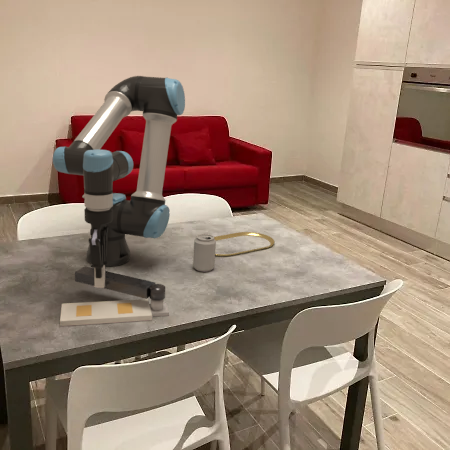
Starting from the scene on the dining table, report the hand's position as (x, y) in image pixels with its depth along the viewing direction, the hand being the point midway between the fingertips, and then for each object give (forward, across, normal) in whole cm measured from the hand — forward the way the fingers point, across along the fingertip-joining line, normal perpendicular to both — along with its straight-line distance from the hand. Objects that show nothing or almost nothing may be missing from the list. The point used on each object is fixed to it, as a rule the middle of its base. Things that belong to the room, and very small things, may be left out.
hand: (99, 286), depth 141 cm
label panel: (+6, +5, +6) cm, 10 cm away
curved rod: (+6, -57, +40) cm, 70 cm away
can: (+6, -31, +29) cm, 42 cm away
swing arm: (+1, -2, +6) cm, 6 cm away
